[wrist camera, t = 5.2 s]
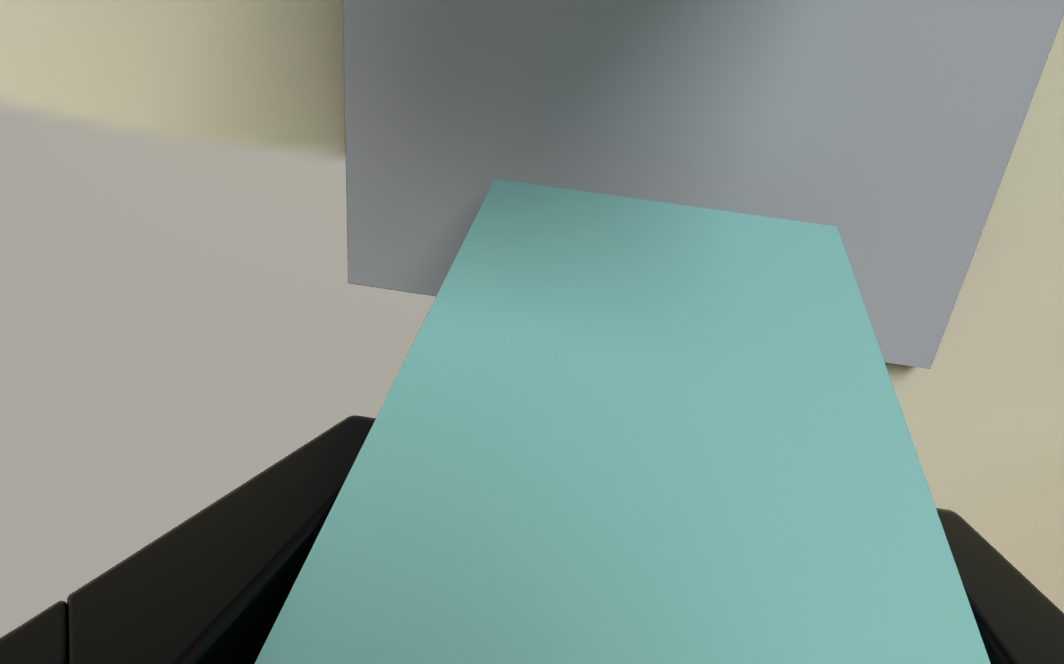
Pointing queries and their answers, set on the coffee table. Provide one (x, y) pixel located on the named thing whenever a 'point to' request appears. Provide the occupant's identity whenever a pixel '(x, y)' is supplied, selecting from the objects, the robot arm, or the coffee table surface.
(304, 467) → the robot arm
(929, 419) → the coffee table surface
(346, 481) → the domino
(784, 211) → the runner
